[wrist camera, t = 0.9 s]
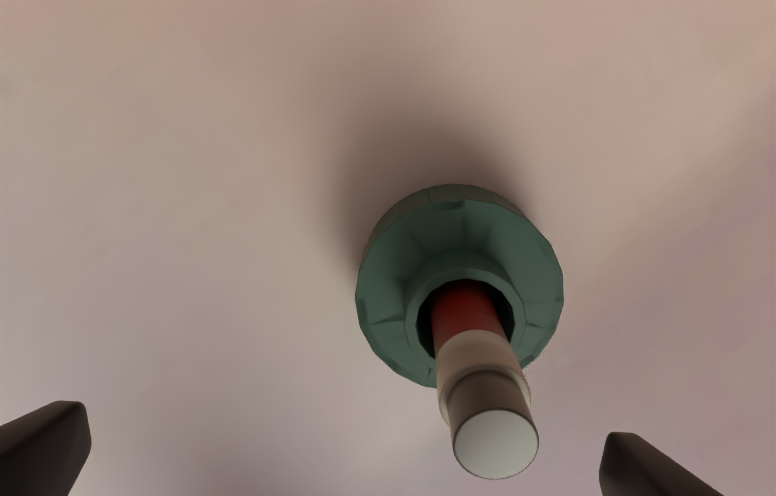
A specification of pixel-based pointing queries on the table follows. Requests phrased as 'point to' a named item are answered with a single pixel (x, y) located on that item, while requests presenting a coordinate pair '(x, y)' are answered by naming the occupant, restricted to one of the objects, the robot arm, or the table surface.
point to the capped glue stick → (480, 383)
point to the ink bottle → (454, 274)
